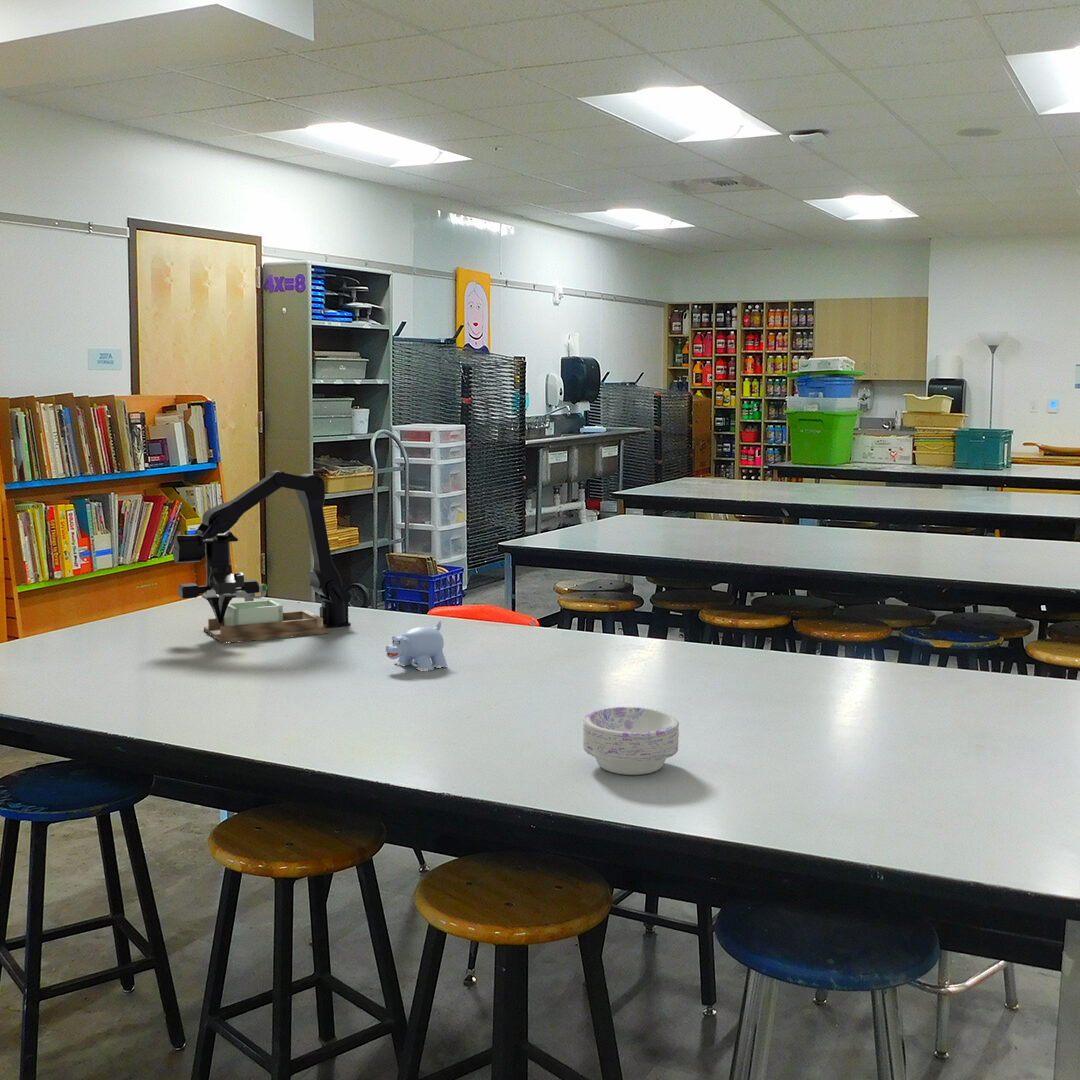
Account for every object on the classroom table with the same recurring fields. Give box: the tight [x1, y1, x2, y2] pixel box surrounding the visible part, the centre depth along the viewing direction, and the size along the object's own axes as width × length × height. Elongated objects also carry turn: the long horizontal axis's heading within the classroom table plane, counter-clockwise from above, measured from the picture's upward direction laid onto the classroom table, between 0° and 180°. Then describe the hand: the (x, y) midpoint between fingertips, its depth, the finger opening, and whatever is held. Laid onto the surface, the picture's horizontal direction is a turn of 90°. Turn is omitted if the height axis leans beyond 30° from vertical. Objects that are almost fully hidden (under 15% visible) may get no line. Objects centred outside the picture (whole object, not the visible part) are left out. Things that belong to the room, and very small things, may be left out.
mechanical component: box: [235, 583, 269, 602], centre depth 304 cm, size 3×10×10 cm, turn 78°
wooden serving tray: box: [203, 609, 331, 644], centre depth 289 cm, size 27×18×4 cm, turn 120°
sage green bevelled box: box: [224, 599, 284, 626], centre depth 287 cm, size 12×10×6 cm
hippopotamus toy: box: [385, 619, 448, 672], centre depth 252 cm, size 11×15×10 cm
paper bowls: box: [582, 706, 680, 776], centre depth 183 cm, size 15×15×8 cm
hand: (219, 623), depth 283 cm, fingers closed
